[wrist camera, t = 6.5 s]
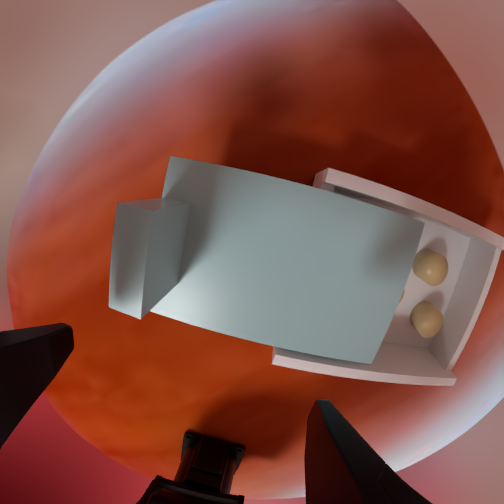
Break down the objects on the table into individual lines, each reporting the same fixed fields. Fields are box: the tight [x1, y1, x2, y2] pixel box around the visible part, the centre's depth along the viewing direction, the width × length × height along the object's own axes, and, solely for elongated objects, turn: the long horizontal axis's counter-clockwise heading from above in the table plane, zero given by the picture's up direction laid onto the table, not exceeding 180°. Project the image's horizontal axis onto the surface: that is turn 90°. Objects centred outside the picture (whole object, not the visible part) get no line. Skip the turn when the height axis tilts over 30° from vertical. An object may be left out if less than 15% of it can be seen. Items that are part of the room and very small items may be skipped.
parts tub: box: [272, 168, 504, 386], centre depth 16 cm, size 11×14×5 cm
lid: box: [109, 156, 425, 364], centre depth 12 cm, size 9×14×5 cm, turn 77°
